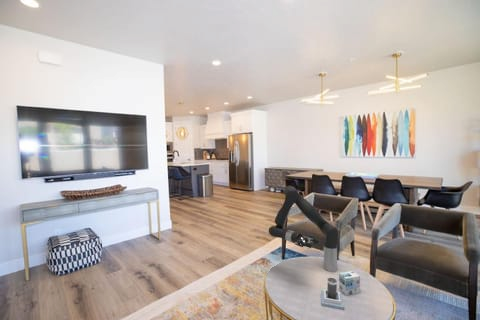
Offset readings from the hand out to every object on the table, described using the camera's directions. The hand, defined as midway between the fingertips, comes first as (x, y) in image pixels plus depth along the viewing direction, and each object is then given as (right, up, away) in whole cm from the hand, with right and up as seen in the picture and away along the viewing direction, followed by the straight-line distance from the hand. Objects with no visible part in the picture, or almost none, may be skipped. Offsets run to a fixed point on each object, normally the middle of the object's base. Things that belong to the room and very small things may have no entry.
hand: (314, 244), depth 141 cm
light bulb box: (+22, -30, -1) cm, 37 cm away
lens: (+7, -29, -9) cm, 31 cm away
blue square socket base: (+7, -30, -9) cm, 32 cm away
